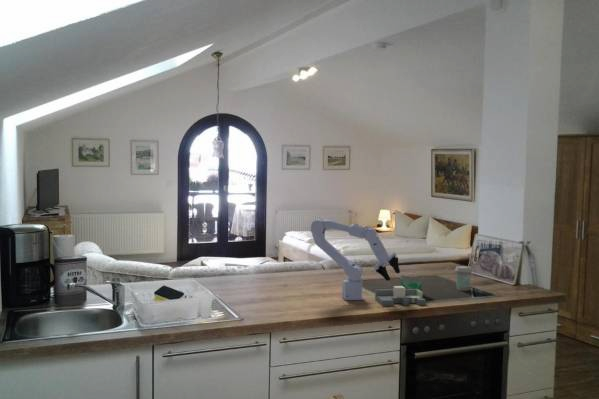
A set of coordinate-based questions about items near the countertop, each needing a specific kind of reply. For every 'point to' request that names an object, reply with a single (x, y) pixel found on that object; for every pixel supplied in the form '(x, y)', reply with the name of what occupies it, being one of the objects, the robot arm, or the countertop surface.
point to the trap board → (388, 299)
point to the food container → (412, 282)
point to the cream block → (398, 291)
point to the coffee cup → (463, 277)
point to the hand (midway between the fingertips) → (393, 276)
